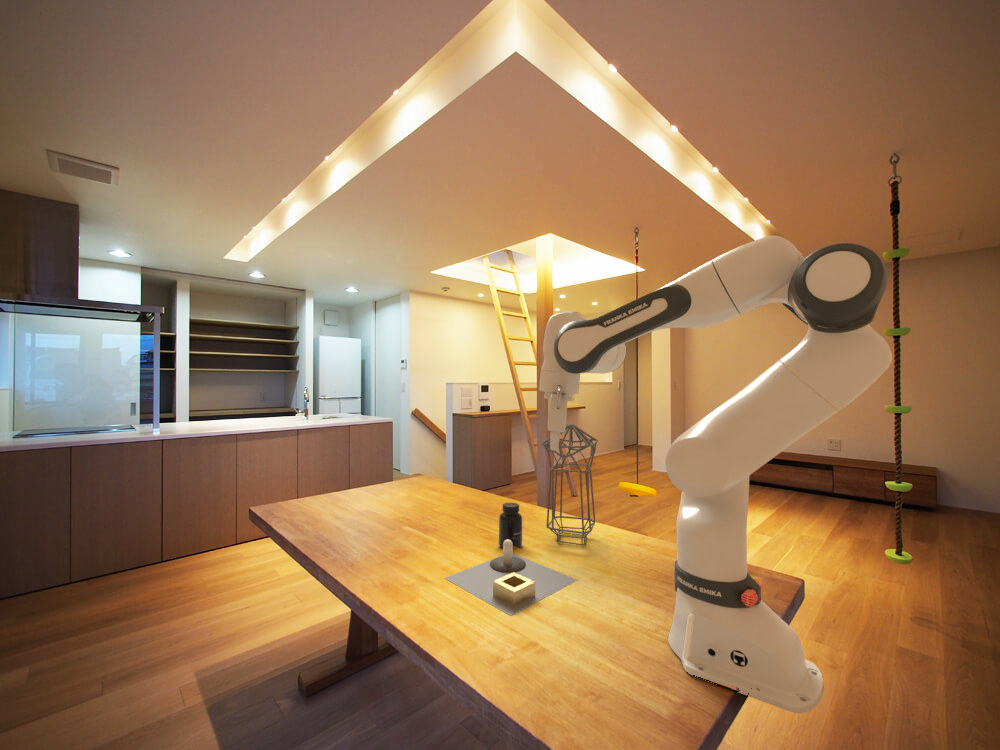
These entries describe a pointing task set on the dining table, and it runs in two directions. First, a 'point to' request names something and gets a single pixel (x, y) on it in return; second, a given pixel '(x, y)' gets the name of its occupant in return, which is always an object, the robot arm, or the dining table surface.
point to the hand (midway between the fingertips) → (553, 445)
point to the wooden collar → (514, 589)
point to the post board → (484, 574)
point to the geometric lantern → (588, 443)
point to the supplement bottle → (510, 525)
